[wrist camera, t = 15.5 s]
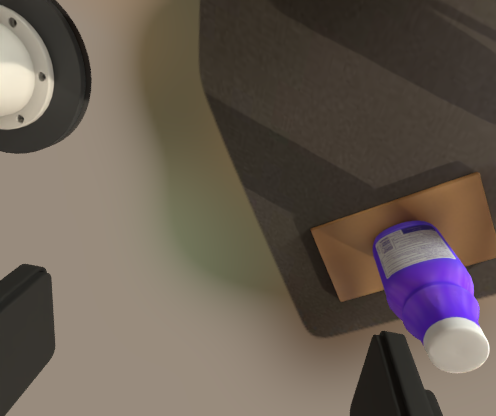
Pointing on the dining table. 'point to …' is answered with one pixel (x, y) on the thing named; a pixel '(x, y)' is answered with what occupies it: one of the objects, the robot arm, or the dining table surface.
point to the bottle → (431, 294)
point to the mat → (399, 211)
